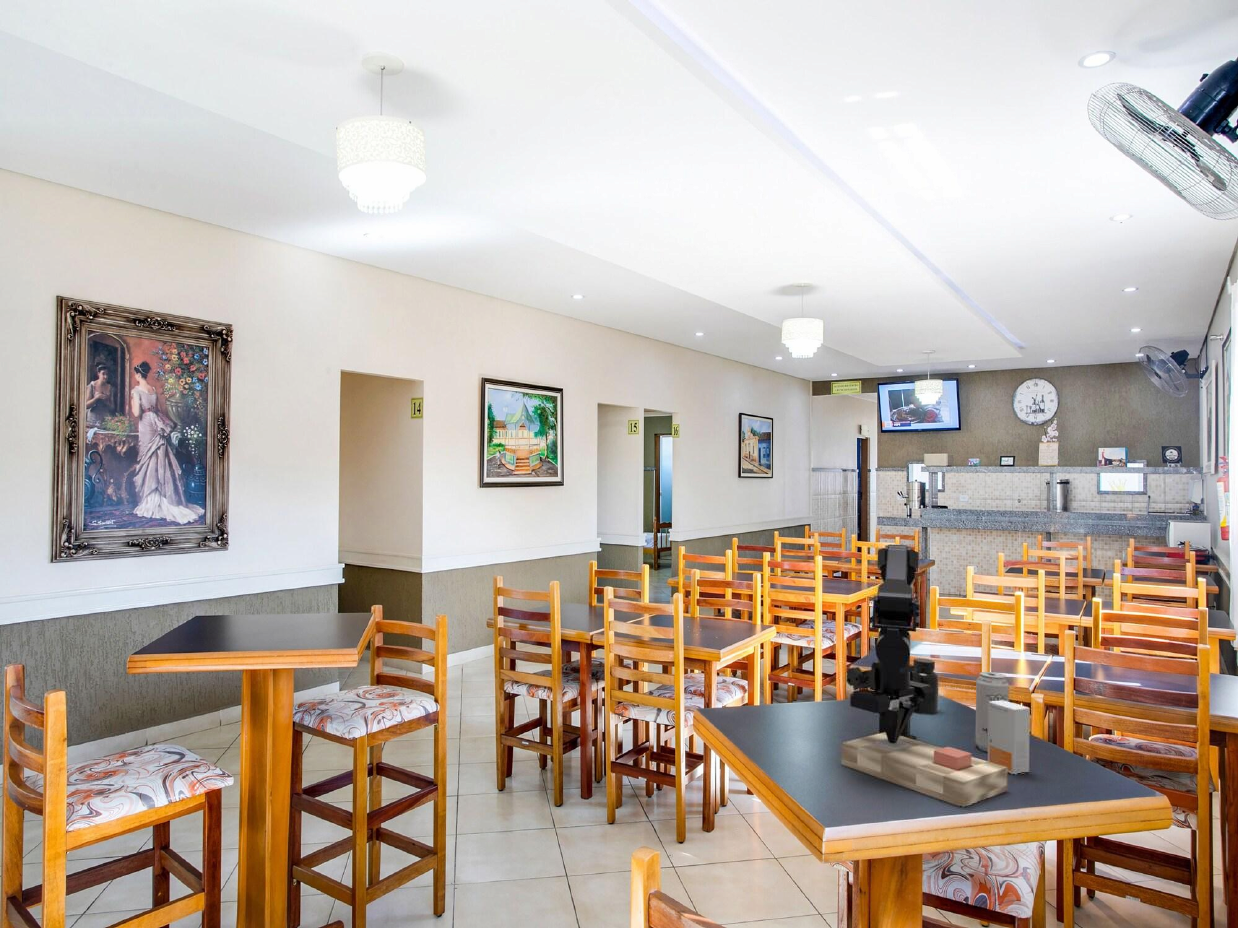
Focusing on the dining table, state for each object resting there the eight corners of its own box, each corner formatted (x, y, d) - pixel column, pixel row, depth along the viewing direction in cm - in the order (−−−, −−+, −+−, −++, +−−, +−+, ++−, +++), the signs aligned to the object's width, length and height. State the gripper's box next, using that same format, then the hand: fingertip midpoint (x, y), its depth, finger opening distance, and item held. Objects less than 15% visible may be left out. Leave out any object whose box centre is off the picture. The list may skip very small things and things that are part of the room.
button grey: (888, 756, 149) (889, 737, 149) (909, 763, 146) (909, 744, 146) (874, 760, 147) (874, 741, 147) (895, 767, 143) (895, 747, 143)
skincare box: (986, 764, 150) (987, 701, 150) (1002, 762, 151) (1003, 699, 152) (1013, 775, 144) (1014, 709, 145) (1030, 772, 146) (1031, 707, 146)
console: (886, 752, 155) (886, 731, 155) (1007, 790, 136) (1007, 767, 136) (841, 764, 147) (841, 742, 147) (962, 807, 127) (963, 782, 128)
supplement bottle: (910, 713, 186) (911, 662, 186) (905, 706, 192) (905, 656, 193) (941, 715, 184) (942, 663, 185) (934, 708, 191) (935, 658, 192)
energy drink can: (984, 753, 156) (985, 677, 157) (969, 744, 162) (971, 670, 163) (1014, 754, 156) (1015, 678, 157) (998, 745, 162) (999, 671, 163)
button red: (947, 766, 140) (947, 746, 140) (971, 774, 136) (971, 753, 136) (933, 770, 137) (934, 750, 137) (957, 778, 133) (957, 757, 134)
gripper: (886, 646, 159) (885, 725, 158) (826, 655, 148) (824, 739, 147) (937, 656, 150) (935, 739, 149) (877, 666, 139) (875, 755, 138)
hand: (892, 742), depth 146 cm, fingers closed, pressing on button grey
